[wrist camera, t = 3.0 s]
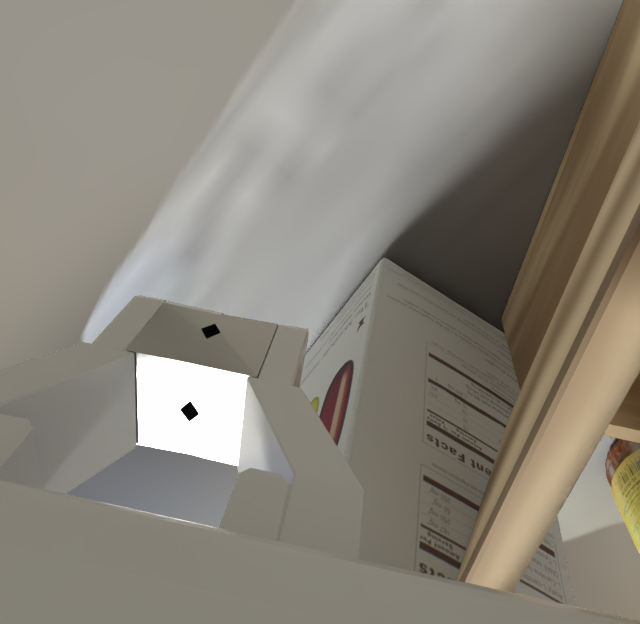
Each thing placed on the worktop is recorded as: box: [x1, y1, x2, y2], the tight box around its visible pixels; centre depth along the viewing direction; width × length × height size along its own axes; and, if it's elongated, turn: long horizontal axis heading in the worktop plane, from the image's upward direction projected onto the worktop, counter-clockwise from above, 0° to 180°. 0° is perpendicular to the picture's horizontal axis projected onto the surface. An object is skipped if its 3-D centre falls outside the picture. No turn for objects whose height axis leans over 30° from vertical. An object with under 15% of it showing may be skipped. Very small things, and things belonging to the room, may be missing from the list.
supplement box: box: [300, 258, 576, 607], centre depth 24 cm, size 10×9×17 cm
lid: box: [456, 121, 640, 593], centre depth 14 cm, size 11×17×1 cm
